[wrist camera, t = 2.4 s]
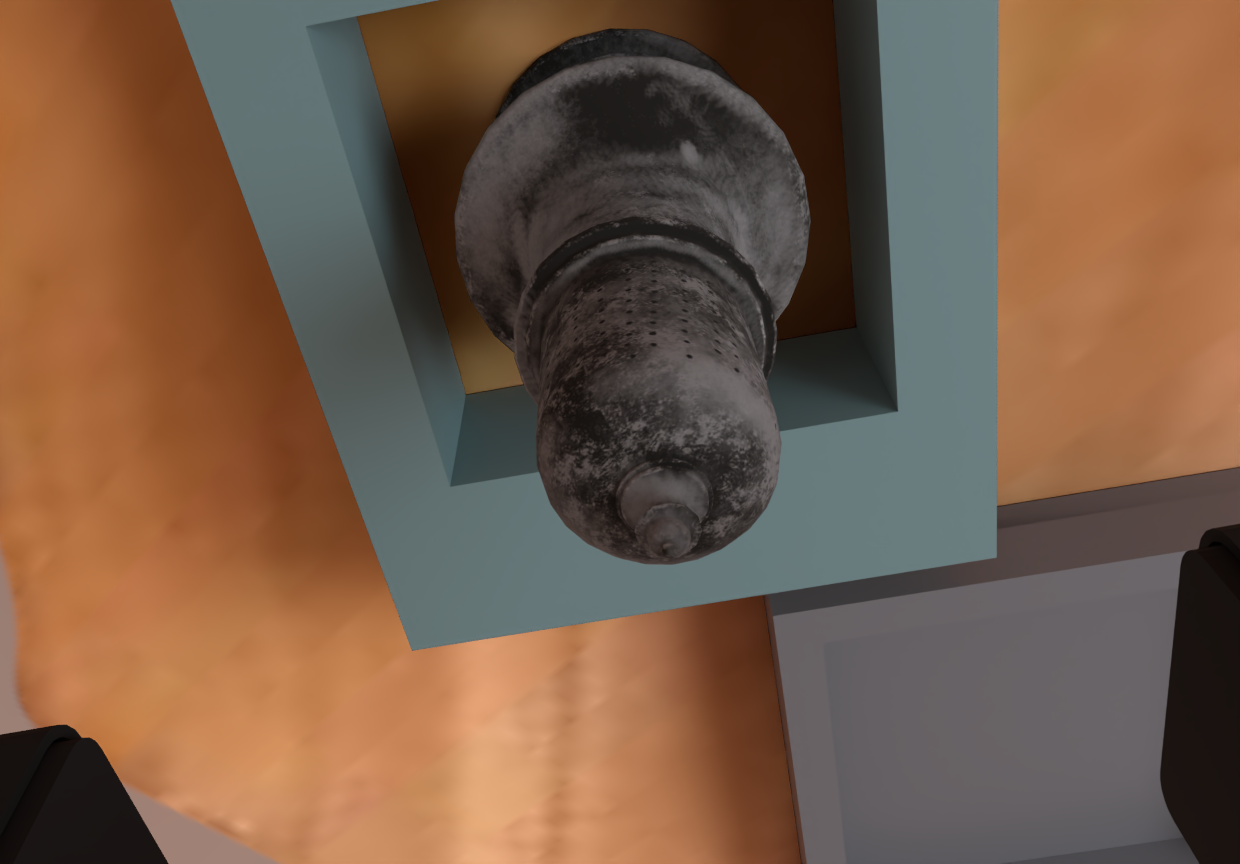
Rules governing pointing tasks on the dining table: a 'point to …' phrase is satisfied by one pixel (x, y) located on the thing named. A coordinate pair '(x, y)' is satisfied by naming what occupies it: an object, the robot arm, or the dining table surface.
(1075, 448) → the dining table surface
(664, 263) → the salt shaker
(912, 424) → the holder block
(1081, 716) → the tray
